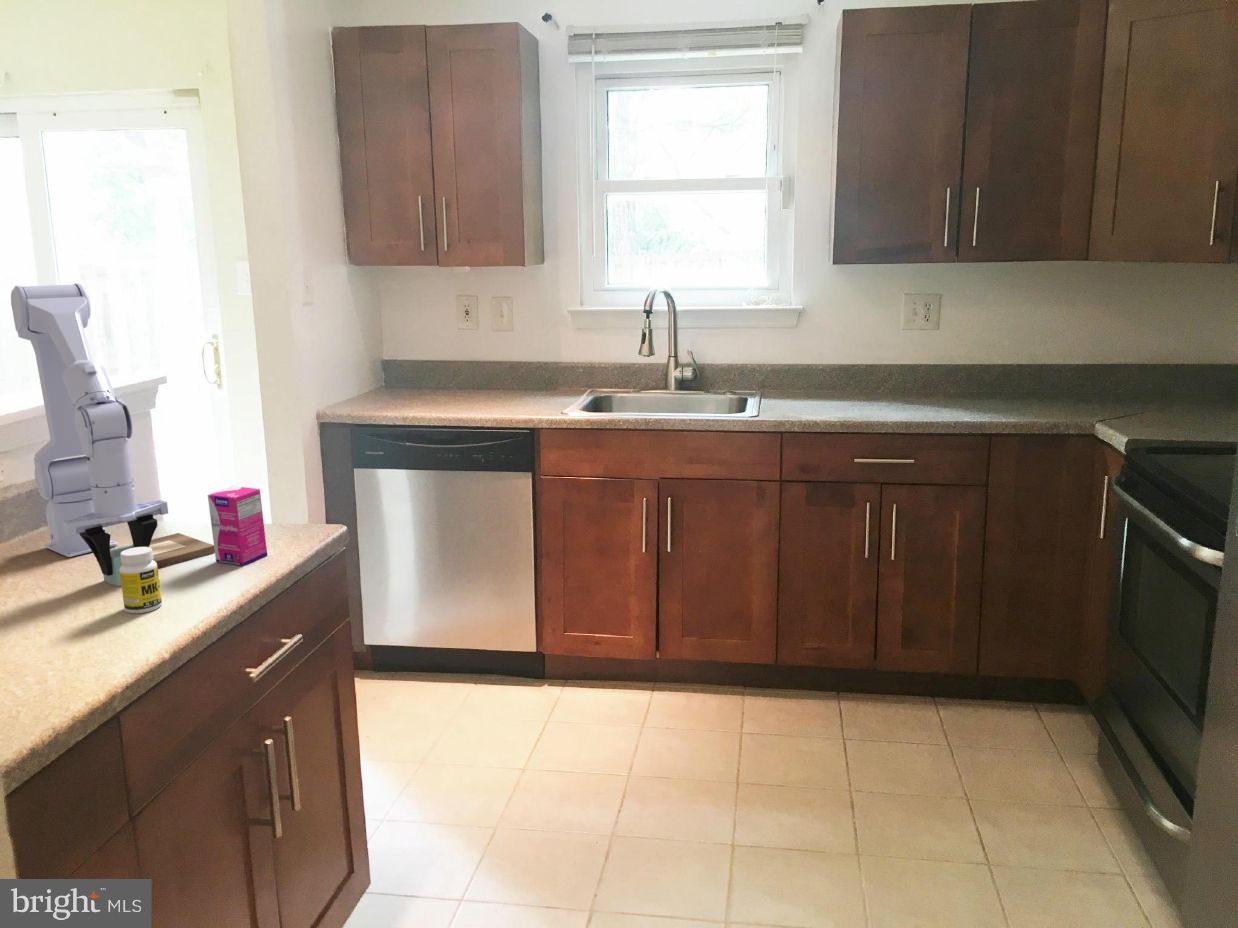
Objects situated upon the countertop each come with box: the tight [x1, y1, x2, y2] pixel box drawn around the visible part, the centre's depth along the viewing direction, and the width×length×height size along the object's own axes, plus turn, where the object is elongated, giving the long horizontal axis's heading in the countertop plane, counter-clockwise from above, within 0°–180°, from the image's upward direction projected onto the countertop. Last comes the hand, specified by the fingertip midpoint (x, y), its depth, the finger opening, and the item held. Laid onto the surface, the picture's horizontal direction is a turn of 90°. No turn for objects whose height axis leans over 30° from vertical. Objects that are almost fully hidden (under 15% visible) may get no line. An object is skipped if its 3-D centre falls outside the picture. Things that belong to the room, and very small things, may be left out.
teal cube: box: [103, 544, 135, 587], centre depth 143 cm, size 4×4×4 cm
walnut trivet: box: [131, 532, 215, 569], centre depth 155 cm, size 12×12×1 cm
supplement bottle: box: [119, 547, 163, 614], centre depth 131 cm, size 5×5×8 cm
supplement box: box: [207, 485, 268, 567], centre depth 151 cm, size 6×6×12 cm
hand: (124, 569), depth 143 cm, fingers closed on teal cube, 4 cm apart
